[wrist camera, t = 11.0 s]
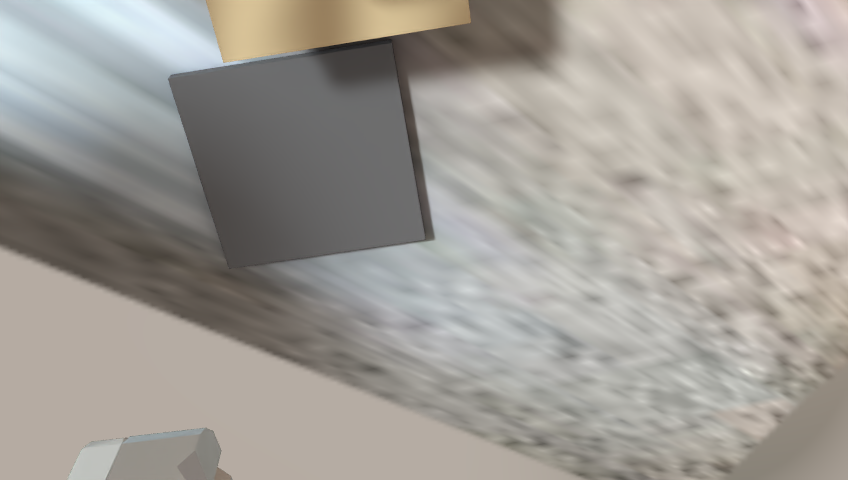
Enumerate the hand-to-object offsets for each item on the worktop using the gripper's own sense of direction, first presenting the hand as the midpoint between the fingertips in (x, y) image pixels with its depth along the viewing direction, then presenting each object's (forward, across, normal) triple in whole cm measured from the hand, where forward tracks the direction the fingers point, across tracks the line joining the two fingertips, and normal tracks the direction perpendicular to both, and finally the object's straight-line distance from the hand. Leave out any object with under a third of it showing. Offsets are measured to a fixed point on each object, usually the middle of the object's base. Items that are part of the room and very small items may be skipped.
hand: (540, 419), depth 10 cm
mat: (+31, +8, +9) cm, 33 cm away
